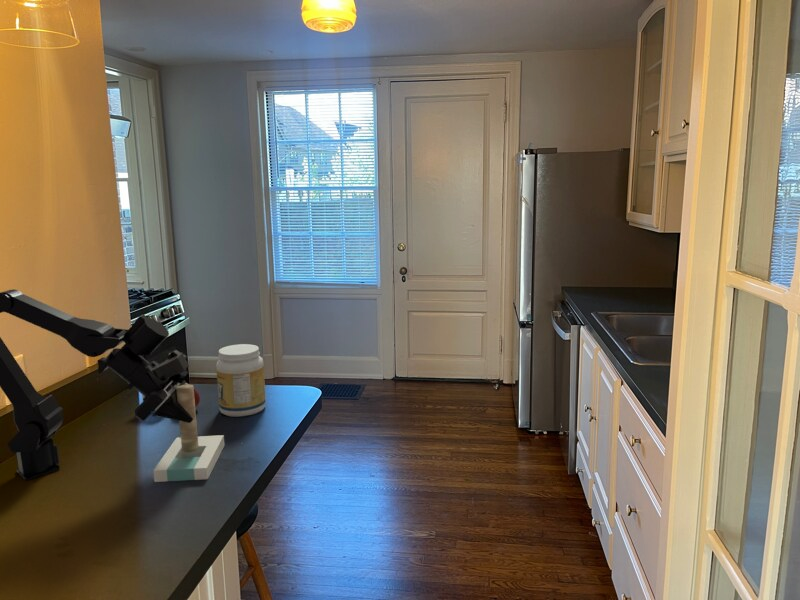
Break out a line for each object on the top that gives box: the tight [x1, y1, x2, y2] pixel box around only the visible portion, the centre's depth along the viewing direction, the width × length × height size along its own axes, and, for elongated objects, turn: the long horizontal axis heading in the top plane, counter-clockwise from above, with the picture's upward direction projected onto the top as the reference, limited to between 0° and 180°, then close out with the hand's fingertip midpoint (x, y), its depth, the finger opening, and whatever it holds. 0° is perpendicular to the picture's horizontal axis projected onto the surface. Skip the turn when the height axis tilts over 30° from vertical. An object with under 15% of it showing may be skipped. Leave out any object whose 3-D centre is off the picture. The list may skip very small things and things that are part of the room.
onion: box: [184, 382, 201, 408], centre depth 154 cm, size 6×6×8 cm
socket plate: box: [152, 434, 226, 483], centre depth 125 cm, size 16×11×2 cm, turn 5°
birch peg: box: [176, 384, 199, 452], centre depth 124 cm, size 3×3×14 cm
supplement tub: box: [215, 343, 267, 418], centre depth 154 cm, size 12×12×17 cm
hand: (194, 417), depth 124 cm, fingers closed on birch peg, 3 cm apart
